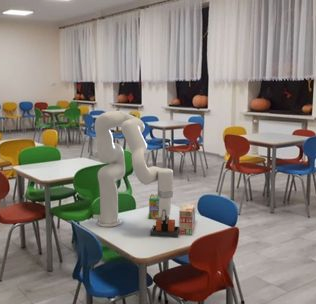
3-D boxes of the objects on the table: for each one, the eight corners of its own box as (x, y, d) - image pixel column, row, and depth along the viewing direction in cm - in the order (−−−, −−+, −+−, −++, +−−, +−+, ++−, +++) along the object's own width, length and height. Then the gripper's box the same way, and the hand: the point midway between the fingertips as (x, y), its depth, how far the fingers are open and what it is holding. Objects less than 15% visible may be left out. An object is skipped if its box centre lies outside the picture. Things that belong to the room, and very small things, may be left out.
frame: (150, 235, 207) (150, 231, 207) (153, 229, 217) (153, 225, 216) (177, 237, 205) (177, 233, 204) (179, 230, 214) (179, 226, 214)
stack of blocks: (183, 220, 230) (183, 198, 227) (195, 221, 228) (195, 199, 226) (179, 234, 209) (179, 210, 207) (191, 235, 208) (192, 211, 206)
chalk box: (150, 213, 241) (150, 188, 239) (166, 214, 240) (166, 189, 238) (148, 218, 232) (148, 192, 230) (165, 219, 231) (165, 193, 229)
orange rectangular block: (155, 230, 209) (155, 221, 208) (157, 227, 214) (157, 218, 213) (173, 231, 207) (173, 222, 206) (174, 228, 212) (174, 219, 211)
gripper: (160, 189, 216) (160, 222, 219) (155, 198, 200) (155, 234, 203) (174, 189, 215) (174, 223, 218) (170, 198, 198) (170, 235, 201)
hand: (165, 228), depth 210 cm, fingers closed on orange rectangular block, 5 cm apart
